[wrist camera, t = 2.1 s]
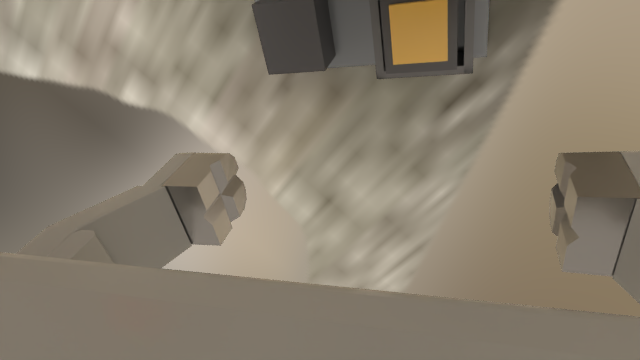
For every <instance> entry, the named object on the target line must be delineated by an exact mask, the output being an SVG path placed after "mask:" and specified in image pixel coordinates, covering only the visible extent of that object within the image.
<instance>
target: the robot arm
mask: <svg viewBox="0 0 640 360" xmlns="http://www.w3.org/2000/svg"><path fill="white" fill-rule="evenodd" d="M237 171H238V165H237V162H236V160H235V157H234V156H232V155H231V154H230V153H179V154H175V155H174V156H173V157H172V158H171V159H170V160H169V161H168V162H167V163H166V164H165V165H164V166H163V167H162V168H161V169H160V170H159V171H158V172H157V173H156V174H155V175H154V176H153V177H152V178H151V179H149V180H148V181H147V182H146V183H145V184H144V185H143V186H136V187H134V188H132V189H130V190H128V191H125V192H123V193H121V194H119V195H116V196H114V197H112V198H110V199H108V200H105V201H103V202H101V203H99V204H97V205H94V206H92V207H90V208H88V209H85V210H83V211H81V212H79V213H76V214H74V215H72V216H70V217H68V218H66V219H63V220H61V221H59V222H57V223H54V224H52V225H50V226H48V227H47V228H46V229H44V230H43V231H42V232H41V233H40V234H39V235H37V236H36V237H35V238H34V239H33V240H31V241H30V242H29V243H28V244H27V245H26V246H24V247H23V248H22V249H21V250H20V251H18V252H17V253H16V254H13V253H3V252H0V360H640V317H635V316H625V315H616V314H605V313H596V312H586V311H576V310H567V309H556V308H547V307H537V306H527V305H516V304H507V303H497V302H487V301H478V300H467V299H458V298H448V297H438V296H428V295H417V294H408V293H398V292H389V291H379V290H369V289H359V288H349V287H339V286H329V285H319V284H309V283H299V282H289V281H279V280H269V279H260V278H250V277H239V276H230V275H220V274H210V273H200V272H190V271H181V270H171V269H161V268H162V267H163V266H165V265H166V264H167V263H169V262H170V261H171V260H173V259H174V258H176V257H177V256H178V255H180V254H181V253H182V252H184V251H185V250H186V249H188V248H189V247H190V246H191V244H199V245H221V244H222V242H223V241H224V240H225V238H226V237H227V235H228V234H229V232H230V231H231V229H232V225H231V222H232V221H233V220H235V219H237V218H238V217H240V215H241V214H242V212H243V210H244V208H245V203H246V190H245V186H244V183H243V181H241V180H240V179H239V178H238V177H237V176H236V173H237ZM555 174H556V178H557V182H558V184H556V185H555V186H554V187H553V188H552V190H551V197H550V213H549V214H550V223H551V228H552V232H553V233H554V234H555V235H556V236H558V239H557V245H556V250H557V254H558V257H559V261H560V265H561V269H562V272H572V273H583V274H592V275H602V276H612V277H613V279H614V280H615V281H616V282H617V283H618V284H619V285H620V286H621V287H622V288H623V289H624V290H626V291H627V292H628V293H629V294H630V295H631V296H632V297H633V298H634V299H635V300H636V301H637V302H638V303H639V304H640V151H623V152H582V153H559V154H558V157H557V160H556V166H555Z"/></svg>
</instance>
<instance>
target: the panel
mask: <svg viewBox="0 0 640 360" xmlns="http://www.w3.org/2000/svg"><path fill="white" fill-rule="evenodd" d="M489 2H490V0H458V57H457V70H443V71H427V72H411V73H395V74H386V68H385V56H384V44H383V33H382V21H381V10H380V0H255V3H254V4H252V8H253V12H254V16H255V20H256V24H257V28H258V32H259V37H260V41H261V45H262V49H263V53H264V57H265V61H266V65H267V69H268V73H269V75H270V74H284V73H299V72H314V71H325V70H326V69H327V68H336V67H350V66H364V65H376V75H377V79H387V78H403V77H420V76H437V75H454V74H470V73H473V58H478V57H487V42H488V22H489Z"/></svg>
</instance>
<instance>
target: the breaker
mask: <svg viewBox="0 0 640 360" xmlns="http://www.w3.org/2000/svg"><path fill="white" fill-rule="evenodd" d="M380 10H381V21H382V33H383V44H384V56H385V68H386V74H395V73H411V72H427V71H443V70H457V57H458V0H380Z"/></svg>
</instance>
